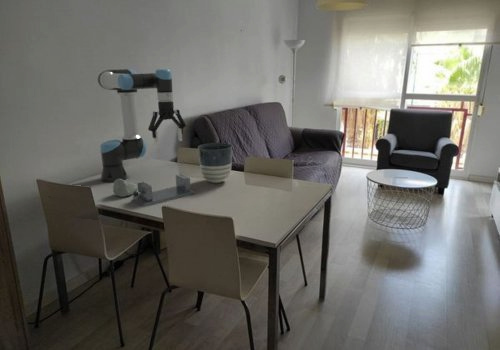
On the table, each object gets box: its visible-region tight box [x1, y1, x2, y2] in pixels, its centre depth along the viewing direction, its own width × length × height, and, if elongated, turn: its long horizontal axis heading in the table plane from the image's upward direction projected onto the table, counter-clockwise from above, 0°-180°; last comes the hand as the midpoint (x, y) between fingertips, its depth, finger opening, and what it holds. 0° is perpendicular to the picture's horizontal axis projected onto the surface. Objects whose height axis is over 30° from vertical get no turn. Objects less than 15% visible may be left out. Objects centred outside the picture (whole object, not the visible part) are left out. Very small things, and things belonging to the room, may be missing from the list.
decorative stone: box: [112, 179, 138, 198], centre depth 199 cm, size 13×11×10 cm
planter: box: [197, 142, 233, 184], centre depth 217 cm, size 20×20×21 cm
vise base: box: [132, 173, 195, 207], centre depth 194 cm, size 14×28×9 cm, turn 130°
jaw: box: [132, 180, 153, 201], centre depth 186 cm, size 10×8×8 cm
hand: (168, 142), depth 193 cm, fingers open, 13 cm apart
